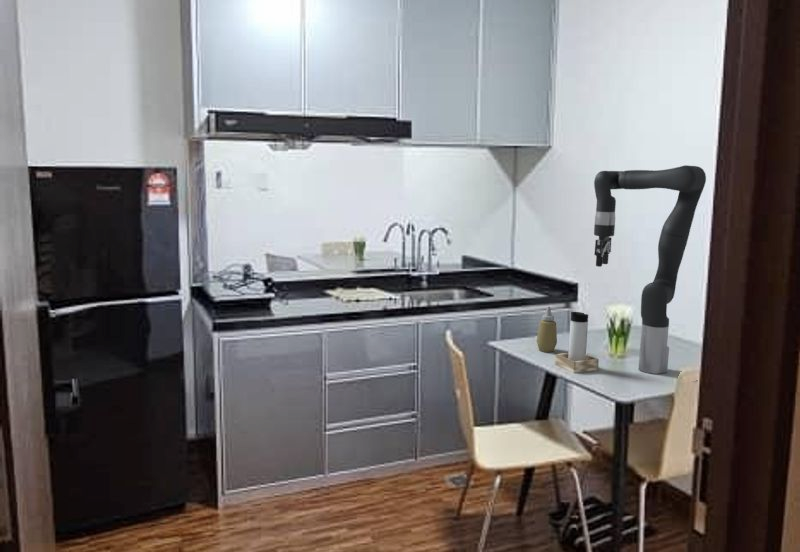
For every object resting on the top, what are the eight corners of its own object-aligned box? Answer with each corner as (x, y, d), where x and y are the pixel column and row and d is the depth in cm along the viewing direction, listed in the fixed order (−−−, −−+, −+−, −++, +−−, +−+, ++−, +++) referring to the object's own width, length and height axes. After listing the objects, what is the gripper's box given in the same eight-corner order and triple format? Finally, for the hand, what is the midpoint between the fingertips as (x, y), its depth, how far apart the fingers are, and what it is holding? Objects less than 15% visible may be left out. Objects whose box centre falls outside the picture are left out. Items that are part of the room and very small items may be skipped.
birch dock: (578, 361, 264) (579, 351, 263) (597, 369, 254) (598, 359, 253) (555, 364, 259) (555, 354, 259) (573, 372, 250) (574, 362, 249)
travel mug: (563, 362, 258) (566, 310, 255) (577, 361, 261) (581, 309, 258) (574, 367, 253) (577, 314, 249) (588, 365, 255) (592, 312, 252)
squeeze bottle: (546, 346, 285) (548, 304, 282) (560, 351, 278) (563, 307, 275) (531, 349, 280) (534, 306, 277) (546, 354, 274) (548, 309, 271)
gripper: (609, 225, 257) (606, 268, 260) (619, 222, 269) (616, 264, 272) (589, 224, 261) (586, 266, 263) (600, 221, 273) (597, 262, 275)
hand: (601, 265), depth 267 cm, fingers open, 8 cm apart
